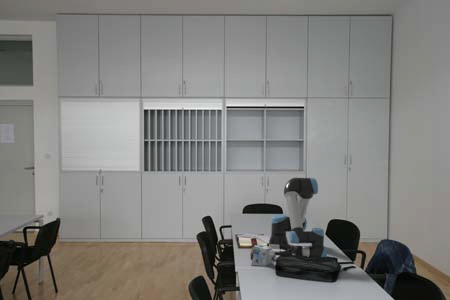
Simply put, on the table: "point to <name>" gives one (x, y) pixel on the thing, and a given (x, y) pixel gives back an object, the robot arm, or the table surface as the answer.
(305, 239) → the robot arm
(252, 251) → the brown wooden square frame
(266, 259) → the light bulb box
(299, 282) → the table surface
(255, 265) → the slate mat
